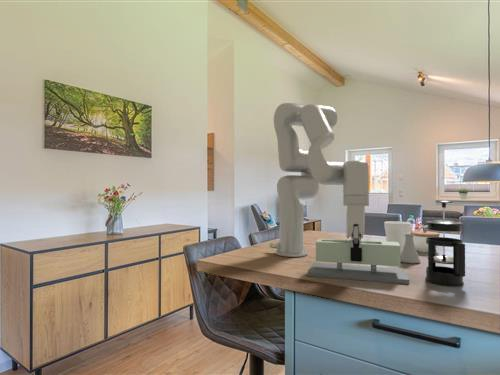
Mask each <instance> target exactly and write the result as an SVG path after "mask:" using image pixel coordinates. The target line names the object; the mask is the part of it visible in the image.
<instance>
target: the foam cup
mask: <svg viewBox="0 0 500 375" xmlns="http://www.w3.org/2000/svg"><path fill="white" fill-rule="evenodd" d="M411 224H412V223H411V222H409V221H398V220H397V221H396V220H394V221H393V220H391V221H384V224H383V225H384V226H383V228H384V232H385V238H386V242H398V243H399V244H400V256H401V253H402V251H403V248H404V245H405V238H406V237H405V234H411V228H412V226H411Z"/></svg>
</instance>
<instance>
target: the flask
mask: <svg viewBox="0 0 500 375" xmlns="http://www.w3.org/2000/svg"><path fill="white" fill-rule="evenodd" d="M413 236H414V234H411V233H409V234H405V237H406V238H405V245H404V248H403V251H402V253H401V256H400V259H401V263H405V264H407V263H408V264H420V263H421V259H420V256H419V253H418V251H417V249H416V248H415V245H414V241H413Z"/></svg>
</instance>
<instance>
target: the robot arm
mask: <svg viewBox="0 0 500 375" xmlns="http://www.w3.org/2000/svg"><path fill="white" fill-rule="evenodd" d="M337 123H338V114H337V112H336V110H335V109H334V108H333V107H331V106H329V105H323V104H315V103H310V104H300V103H295V102H283V103H280V104H279V105H278V106H277V107H276V109H275V110H274V115H273V128H274V131H275V135H276V140H277V154H278V155H277V157H278V164H279V168H280V170H281V171H283V172H285V173H299V174H300V175H297V174H296V175H295V174H292V175H291V174H288V175H283V176H281V177H280V178H279V179H278V181H277V183H276V191H277V196H278V205H279V206H278V207H279V209H278V210H279V215H278V216H279V241H278V242H270V243H269V249H276V250H275V254H276V255H277V256H280V257H287V258H299V257H306V256H307V255H308V250H306V249H304V208H303V205H302V203H301V201H300V200H304V199H305V200H307V199H308V200H309V199H310V200H311V199H313V198H314V199H315V198H316V197H317V195H318V194H319V189H320V185H328V186H331V185H333V186H342V188H343V189H342V193H343V195H342V196H343V197H342V198H343V201H342V203H343V206H344V207H346V218H345V220H346V228H345V229H346V231H345V233H346V235H345V236H346V238H347V239H349V238H350V240H351V261H357V262H361V261H362V248H361V240H362V239H363V238H364V235H365V226H366V225H365V221H366V220H365V219H366V218H365V215H366V214H365V212H366V207H369V206H370V182H369V180H370V175H369V172H370V169H369V167H370V166H369V163H368V162H367V160H349V161H345V162H344V161H327V160H326V157H325V156H324V153H323V149H326V148H328V146H330V145H331V144H332V143H333V141H335V140H334V139H335V133H334V132H333V129H332V128H334V127H335V126H336V125H337ZM292 126H297V127H299V126H300V127H303V130H304V132H305V134H306V136H307V138H308V141H309V142H310V146H309V149H301V148H300V145H299V144H300V143H299V137H298V134H297V133H296V131H295V129H294V128H293V127H292Z"/></svg>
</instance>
